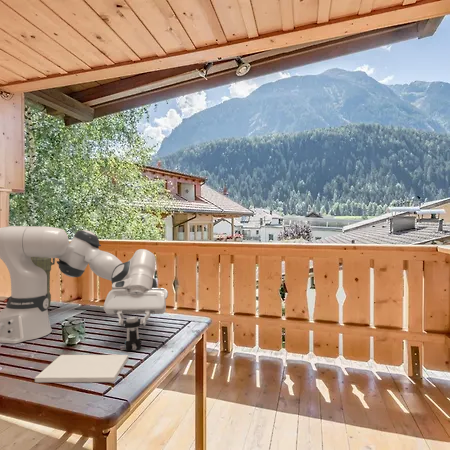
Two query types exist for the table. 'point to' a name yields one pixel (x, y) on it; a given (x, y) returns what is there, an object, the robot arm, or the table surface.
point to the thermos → (46, 266)
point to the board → (83, 368)
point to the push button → (132, 334)
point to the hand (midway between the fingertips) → (131, 324)
